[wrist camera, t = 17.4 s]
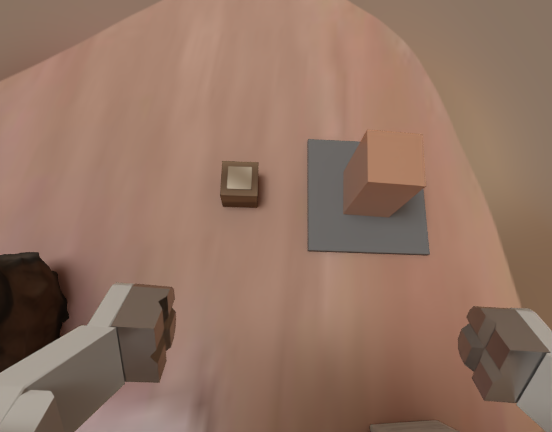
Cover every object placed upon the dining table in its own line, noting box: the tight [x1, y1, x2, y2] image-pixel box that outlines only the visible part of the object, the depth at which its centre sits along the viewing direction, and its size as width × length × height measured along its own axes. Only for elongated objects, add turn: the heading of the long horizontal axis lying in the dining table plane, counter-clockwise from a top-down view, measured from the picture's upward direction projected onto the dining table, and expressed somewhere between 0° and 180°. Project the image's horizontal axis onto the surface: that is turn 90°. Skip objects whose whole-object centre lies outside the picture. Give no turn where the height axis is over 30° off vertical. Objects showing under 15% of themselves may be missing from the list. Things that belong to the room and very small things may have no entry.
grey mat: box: [308, 139, 430, 255], centre depth 45 cm, size 14×14×1 cm
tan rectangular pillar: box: [343, 130, 426, 218], centre depth 40 cm, size 5×5×10 cm
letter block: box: [220, 161, 259, 208], centre depth 43 cm, size 4×4×4 cm
